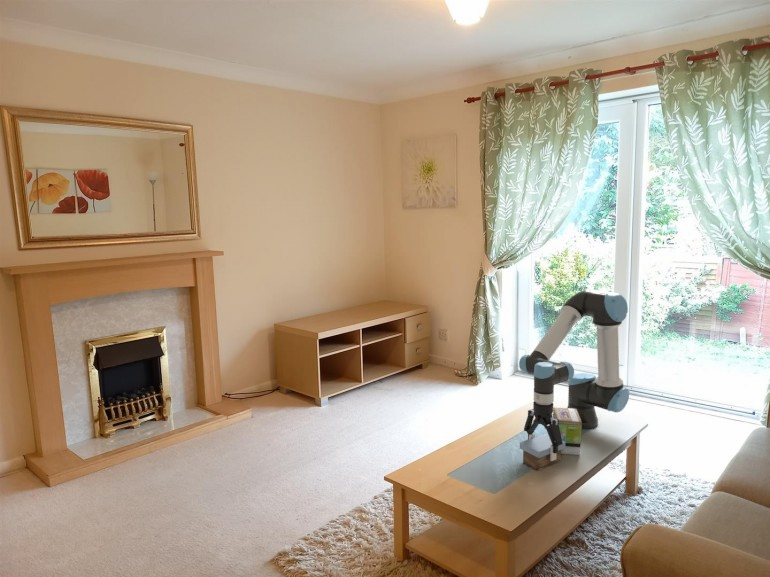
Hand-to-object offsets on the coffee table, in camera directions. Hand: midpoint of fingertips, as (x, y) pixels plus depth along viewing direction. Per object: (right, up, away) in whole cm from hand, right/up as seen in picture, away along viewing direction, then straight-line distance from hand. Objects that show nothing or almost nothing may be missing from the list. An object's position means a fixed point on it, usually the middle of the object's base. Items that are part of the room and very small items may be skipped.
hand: (542, 454), depth 211 cm
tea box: (+14, -1, +14) cm, 20 cm away
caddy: (0, -3, 0) cm, 3 cm away
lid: (0, +3, 0) cm, 3 cm away
